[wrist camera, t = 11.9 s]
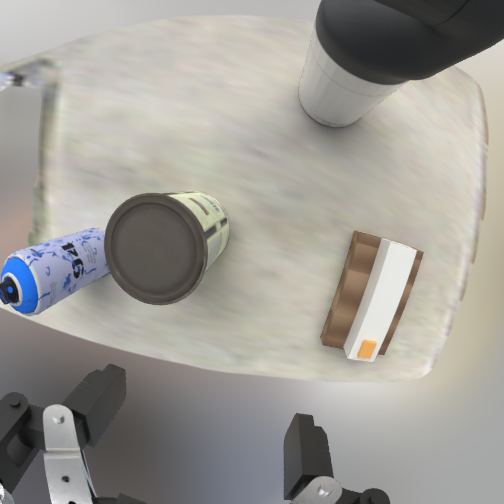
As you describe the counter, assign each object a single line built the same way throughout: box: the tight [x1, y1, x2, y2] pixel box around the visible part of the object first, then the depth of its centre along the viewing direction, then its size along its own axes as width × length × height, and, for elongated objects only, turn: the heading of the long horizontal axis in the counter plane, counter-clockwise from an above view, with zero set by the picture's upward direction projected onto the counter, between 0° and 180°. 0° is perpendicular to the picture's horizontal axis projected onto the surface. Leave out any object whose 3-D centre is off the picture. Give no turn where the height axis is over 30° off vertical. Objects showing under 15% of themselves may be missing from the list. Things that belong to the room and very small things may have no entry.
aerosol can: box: [0, 227, 110, 316], centre depth 30 cm, size 8×8×20 cm
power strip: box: [343, 238, 417, 362], centre depth 35 cm, size 16×4×6 cm, turn 167°
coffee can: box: [104, 191, 230, 305], centre depth 32 cm, size 10×10×14 cm
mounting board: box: [321, 231, 424, 355], centre depth 37 cm, size 16×10×2 cm, turn 167°
